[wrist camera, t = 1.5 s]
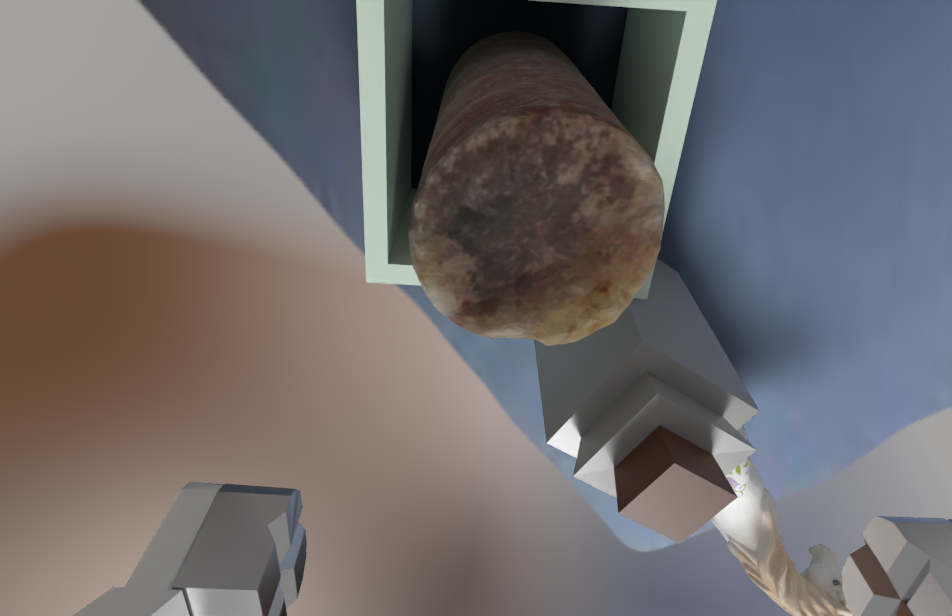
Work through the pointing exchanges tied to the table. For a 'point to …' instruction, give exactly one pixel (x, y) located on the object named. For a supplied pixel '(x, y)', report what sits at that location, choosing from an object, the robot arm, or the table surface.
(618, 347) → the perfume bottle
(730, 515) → the unicorn figurine
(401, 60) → the mint green open box
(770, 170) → the table surface
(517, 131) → the wooden log
